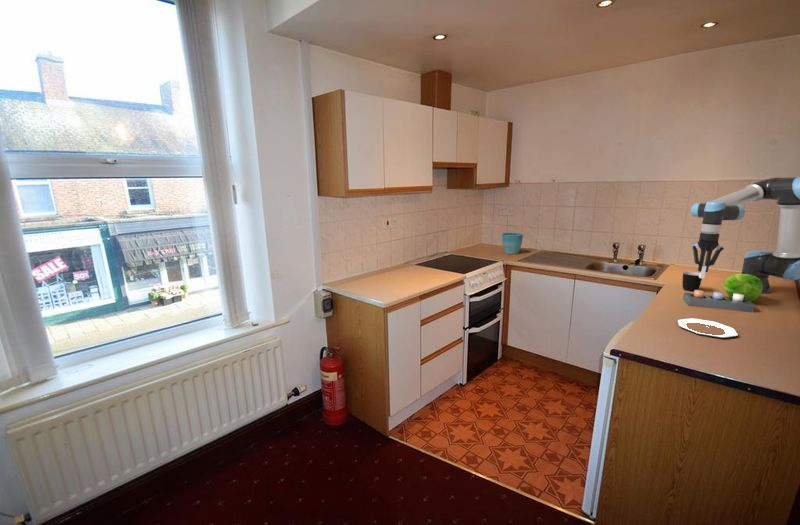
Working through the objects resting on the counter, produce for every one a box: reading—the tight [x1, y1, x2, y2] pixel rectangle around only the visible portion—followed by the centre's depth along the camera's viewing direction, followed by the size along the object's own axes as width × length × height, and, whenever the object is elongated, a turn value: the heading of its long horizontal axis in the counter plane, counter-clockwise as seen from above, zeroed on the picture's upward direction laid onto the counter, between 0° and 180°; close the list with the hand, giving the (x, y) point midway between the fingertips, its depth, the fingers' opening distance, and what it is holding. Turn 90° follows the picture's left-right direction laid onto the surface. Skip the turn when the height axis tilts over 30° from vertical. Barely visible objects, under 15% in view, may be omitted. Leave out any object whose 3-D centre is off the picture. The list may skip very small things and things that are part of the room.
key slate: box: [712, 291, 725, 300], centre depth 188 cm, size 4×4×4 cm
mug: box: [681, 271, 703, 293], centre depth 216 cm, size 12×9×10 cm
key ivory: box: [732, 293, 744, 302], centre depth 185 cm, size 4×4×4 cm
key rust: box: [693, 289, 705, 298], centre depth 192 cm, size 4×4×4 cm
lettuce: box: [722, 273, 763, 302], centre depth 196 cm, size 15×23×16 cm
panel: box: [682, 292, 755, 313], centre depth 189 cm, size 26×10×4 cm, turn 66°
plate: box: [677, 317, 739, 339], centre depth 161 cm, size 20×20×2 cm
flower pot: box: [501, 232, 524, 255], centre depth 324 cm, size 18×18×17 cm
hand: (701, 277), depth 190 cm, fingers closed
